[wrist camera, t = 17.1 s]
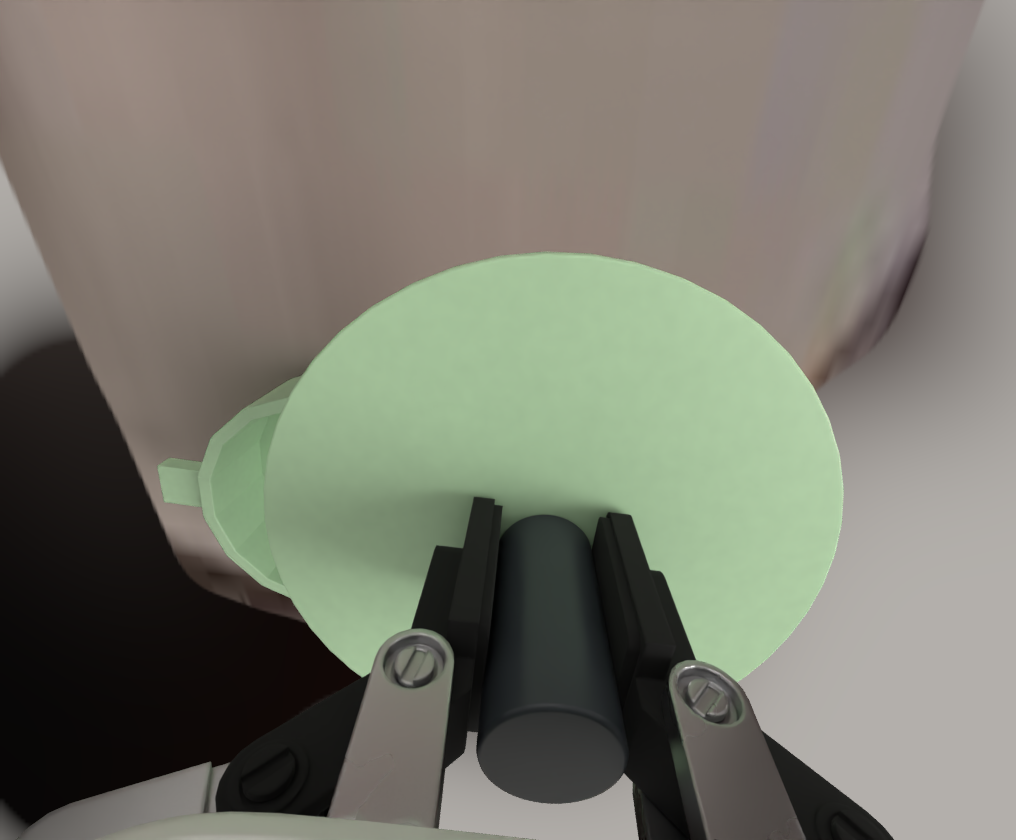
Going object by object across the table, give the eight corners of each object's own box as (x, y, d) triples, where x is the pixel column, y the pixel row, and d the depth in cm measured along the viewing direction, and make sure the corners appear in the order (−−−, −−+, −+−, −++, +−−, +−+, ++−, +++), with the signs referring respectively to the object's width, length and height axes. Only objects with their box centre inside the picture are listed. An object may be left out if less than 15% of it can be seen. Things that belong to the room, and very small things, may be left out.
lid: (259, 214, 10) (-87, 202, 4) (915, 289, 10) (1404, 374, 4) (303, 676, 16) (175, 931, 10) (725, 724, 16) (835, 1008, 10)
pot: (200, 346, 28) (127, 374, 23) (512, 389, 28) (507, 425, 23) (225, 530, 33) (169, 586, 28) (487, 566, 33) (479, 627, 28)
